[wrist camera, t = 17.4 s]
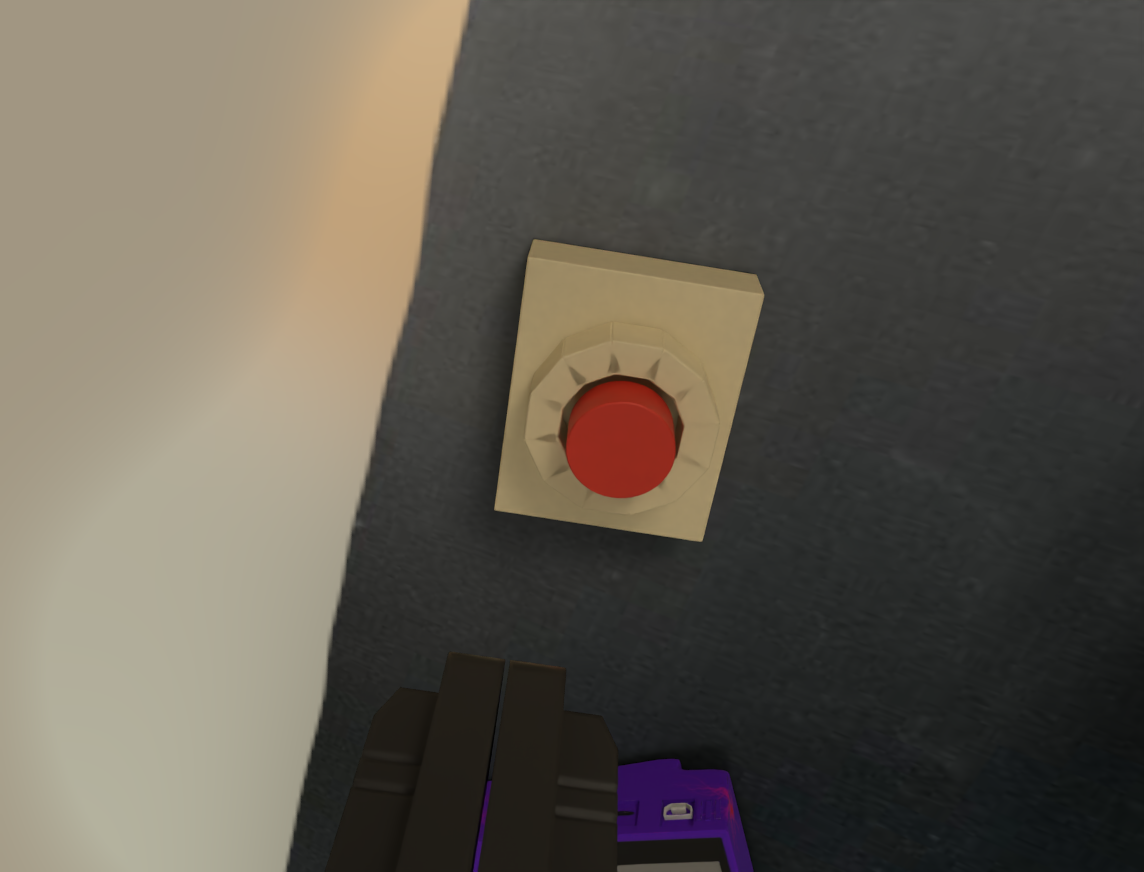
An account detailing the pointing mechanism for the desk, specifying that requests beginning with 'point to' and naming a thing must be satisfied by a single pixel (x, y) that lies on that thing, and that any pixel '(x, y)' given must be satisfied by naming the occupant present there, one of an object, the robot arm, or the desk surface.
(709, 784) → the handheld gaming console
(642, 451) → the red button
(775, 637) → the desk surface
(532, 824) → the robot arm
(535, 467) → the button box
